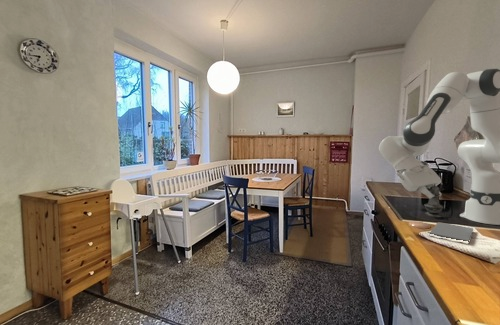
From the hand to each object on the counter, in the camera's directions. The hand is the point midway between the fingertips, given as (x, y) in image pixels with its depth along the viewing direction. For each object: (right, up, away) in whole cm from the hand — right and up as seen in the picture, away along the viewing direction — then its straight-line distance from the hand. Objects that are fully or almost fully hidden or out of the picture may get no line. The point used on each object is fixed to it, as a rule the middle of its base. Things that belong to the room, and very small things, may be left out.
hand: (436, 196), depth 91 cm
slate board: (+14, -17, +10) cm, 24 cm away
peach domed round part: (+8, -17, +21) cm, 28 cm away
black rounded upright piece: (0, -7, +1) cm, 7 cm away
